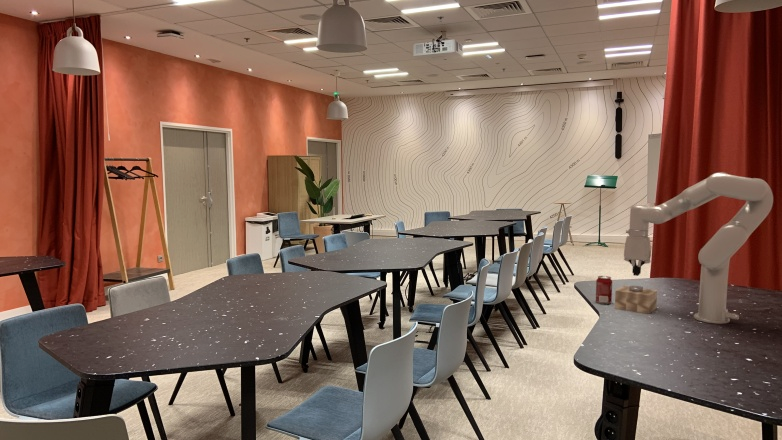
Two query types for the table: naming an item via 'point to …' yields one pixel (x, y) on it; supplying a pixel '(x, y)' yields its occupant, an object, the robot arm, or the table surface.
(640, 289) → the pin
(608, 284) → the soda can
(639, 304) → the block
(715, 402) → the table surface
